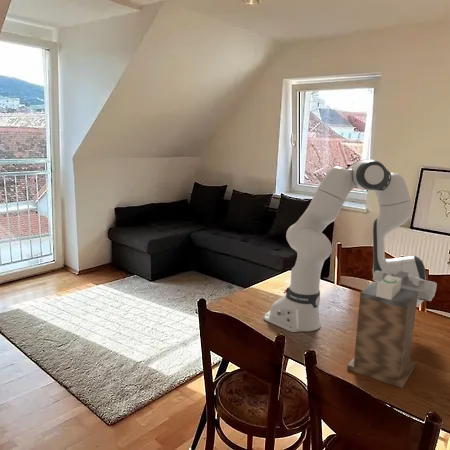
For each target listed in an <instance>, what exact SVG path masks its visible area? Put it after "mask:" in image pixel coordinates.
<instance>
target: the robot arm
mask: <svg viewBox="0 0 450 450" xmlns="http://www.w3.org/2000/svg"><path fill="white" fill-rule="evenodd" d="M407 186H408V185H407V183H406V181H405V179H404V176H403V175H401V174H400V173H397V172H390V171H389V170H388V169H387V168H386V166H385V165H384V164H383V163H382V162H381V161H378V160H377V159H376V160H375V159H362V160H358V161H356V162H353V163H352V164H350V165H348V166H347V167H343V166H332V167H331V168H330V169H329V170H328V171H327V173H326V174H325V175H324V177H323V178H322V180H321V181H320V184H319V185H318V187H317V189H316V191H315V192H314V195H313V197H312V199H311V201H310V203H309V205H308V206H307V208H306V209H305V211H304V212H303V214H302V215H300V217H299V218H298V220H297V221H296V222H295V223H293V224H292V225H290V226H289V227H288V229H287V230H286V235H285V238H286V241H287V243H288V244H289V246H290V248H291V249H292V250H294V251H295V252H296V254H297V255H296V256H297V257H296V260H295V264H294V266H293V267H292V268H291V270H290V272H291V273H290V285H289V287H286V288H285V289H284V290H283V291H284V292H283V293H284V294H285V295H284V296H282V297H280V298H278V299H277V300H276V301H274V302H273V303H272V304H271V307H270V310H269V311H267V312H266V313H265V314H264V317H263V319H264V321H266V322H269V324H272V325H275V326H277V327H278V328H282V329H284V330H286V331H288V332H291V333H298V332H312V331H317V330H318V329H320V328H321V327H322V323H321V319H320V311H319V309H320V308H319V306H320V301H321V290H320V284H321V283H320V282H321V273H322V269H323V266H324V263H325V261H326V260H327V259H328V258H329V257H330V256H331V254H332V250H333V246H332V242H331V241H330V239H329V238H328V237H327V236H326V234H324V233H323V231H324V230H325V229H326V228H327V226H328V225H330V224H331V223H333V222H334V221H335V220H337V218H338V215H339V213H340V212H341V210H342V207H343V206H344V203H345V202H346V200H347V198H348V195H349V193H350V192H351V191H352V190H354V189H359V190H362V191H374V193H375V194H376V197H377V200H378V207H379V212H378V216H377V218H376V219H374V222H373V226H372V248H373V251H372V252H373V253H372V255H373V264H372V266H373V267H372V276H373V277H372V280H373V282H375V283H379V282H380V281H381V280H382V279H383V278H385V277H386V276H387V275H389V276H395V275H396V274H397V273H398V272H399V271H402V272H407V273H409V275H408V280H407V281H406V282H405V283H404V284H403V285H402V286H401V288H402V289H407V290H411V291H416V292H418V297H417V305H416V306H418V305H421V304H422V303H423V302H424V301H427V302H428V301H429V302H432V300H433V298H434V297H435V294H436V291H437V285H438V284H437V282H435V281H431V280H427V271H426V267H425V265H424V263H423V260H422V259H420V258H419V257H418V256H417V255H408V256H401V257H394V258H387V257H386V256H385V255H386V254H385V251H386V250H385V238H386V237H387V235H388V234H389V233H390V232H392V231H394V230H396V229H397V228H399V227H401V226H402V225H404V224H405V223H407V221H408V220H410V218H411V216H412V213H413V210H412V208H413V207H412V201H411V197H410V194H409V193H410V192H409V189H408V187H407Z"/></svg>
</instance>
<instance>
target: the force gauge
mask: <svg viewBox="0 0 450 450" xmlns="http://www.w3.org/2000/svg"><path fill="white" fill-rule="evenodd" d="M408 275H409V273H407V272H402V271H399V272H398V273H397V274H396V275H395V276H389V275H387V276H386V277H385V278H383V279H382V280H381V281H380V282H379V283H378V284H377V292H376V296H377V297H381V298H385V299H390V300H391V299H392V298H393V297H394V296H395V295H396V294H397V293H398V292H399V291H400V289H401V286H402V285H403V284H404V283H405V282H406V281H407V280H408Z"/></svg>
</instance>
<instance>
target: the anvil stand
mask: <svg viewBox="0 0 450 450" xmlns="http://www.w3.org/2000/svg"><path fill="white" fill-rule="evenodd" d="M377 284H378V283H377V282H375V281H372V282H371V283H370V284H369V285H368V286H366V287H365V288H364V289H363V290H361V292H360V295H359V303H358V306H359V307H358V314H357V324H356V325H357V326H356V337H355V347H354V357H353V358H352V359H351V360H350V361H349V363H348V364H347V367H346V369H347V370H349V371H352V372H354V373H357V374H360V375H363V376H366V377H369V378H371V379H375V380H378V381H380V382H383V383H386V384H388V385H389V384H390V385H391V386H395V387H398V388H401V389H403V388H404V386H405V385H406V382H407V381H408V379H409V378H410V377H411V374H412V372H413V371H414V369H415V368H416V362H414V361H411V352H412V344H413V336H414V335H413V334H414V329H415V321H416V312H417V306H418V305H417V297H418V292H416V291H411V290H407V289H402V288H401V289H400V291H399V292H398V293H397V294H396V295H395V296H394V297H393V298H392V299H391V300H390V299H385V298H381V297H377V296H376V292H377Z"/></svg>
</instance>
